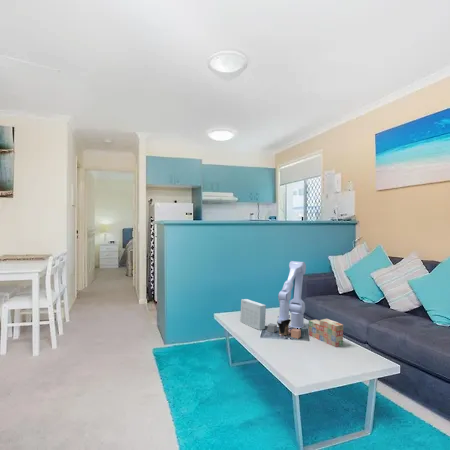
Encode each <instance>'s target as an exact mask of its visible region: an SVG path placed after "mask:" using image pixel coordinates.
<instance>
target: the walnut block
mask: <svg viewBox="0 0 450 450" xmlns="http://www.w3.org/2000/svg"><path fill="white" fill-rule="evenodd" d="M289 326H290V324H289V325H286V326H285V331H284V334H283V333H280V329H279V328H278V335H279V334H282V335H281V336H283V335H286V336H288V335H289V334H288V333H290V332H289V329H290V327H289ZM287 334H288V335H287Z"/></svg>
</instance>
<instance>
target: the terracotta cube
mask: <svg viewBox="0 0 450 450" xmlns="http://www.w3.org/2000/svg"><path fill="white" fill-rule="evenodd" d="M301 329H302V328H301ZM301 329H297V328H293V327H292V329H291V330H290V338H292V337H293V339H296V338H297V340H299V339H300V338H301V337H302V330H301Z"/></svg>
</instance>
